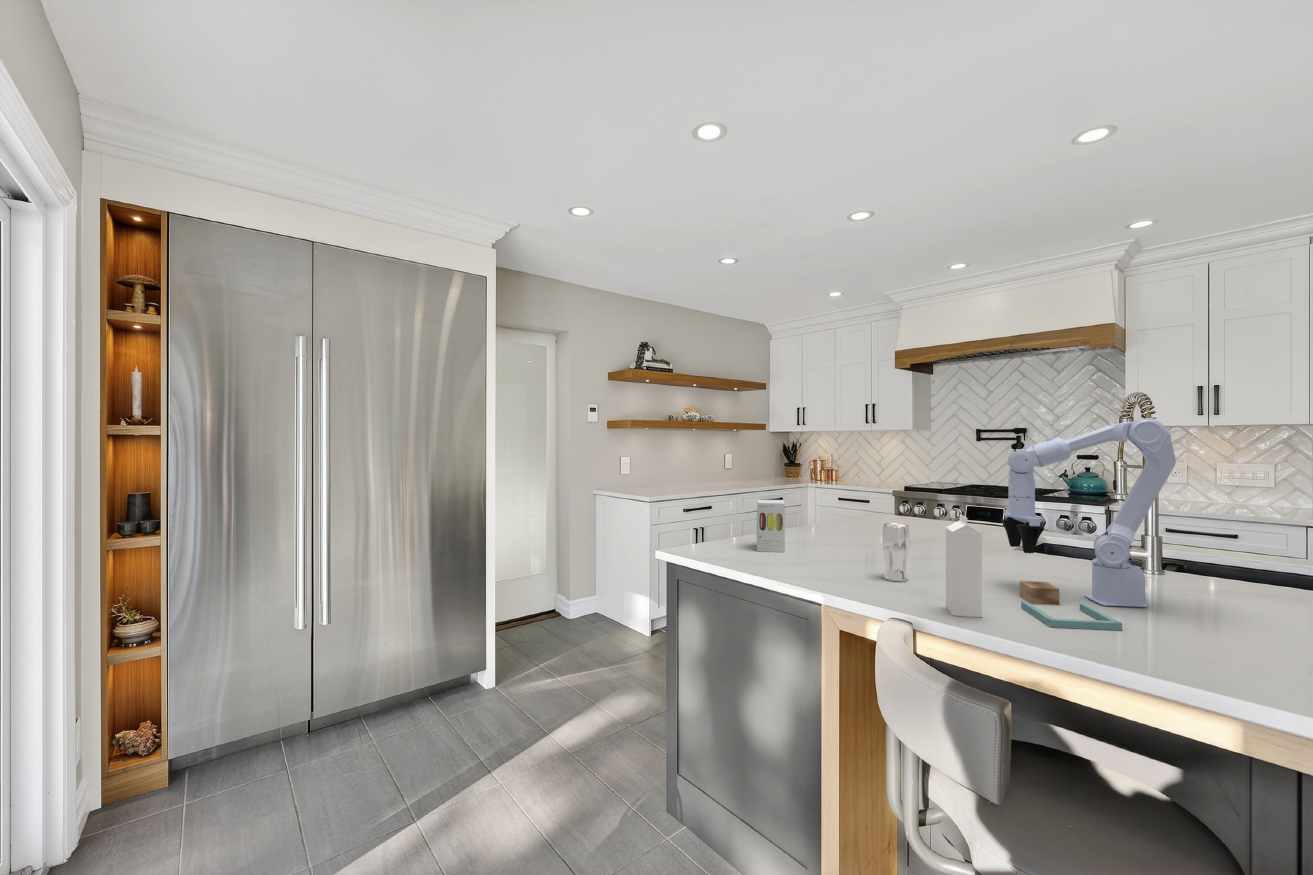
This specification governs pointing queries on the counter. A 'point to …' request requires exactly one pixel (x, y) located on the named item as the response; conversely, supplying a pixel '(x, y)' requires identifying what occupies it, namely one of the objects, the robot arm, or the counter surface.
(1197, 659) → the counter surface
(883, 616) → the counter surface
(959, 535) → the milk
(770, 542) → the supplement box
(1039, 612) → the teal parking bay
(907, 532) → the beer glass
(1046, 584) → the walnut block
